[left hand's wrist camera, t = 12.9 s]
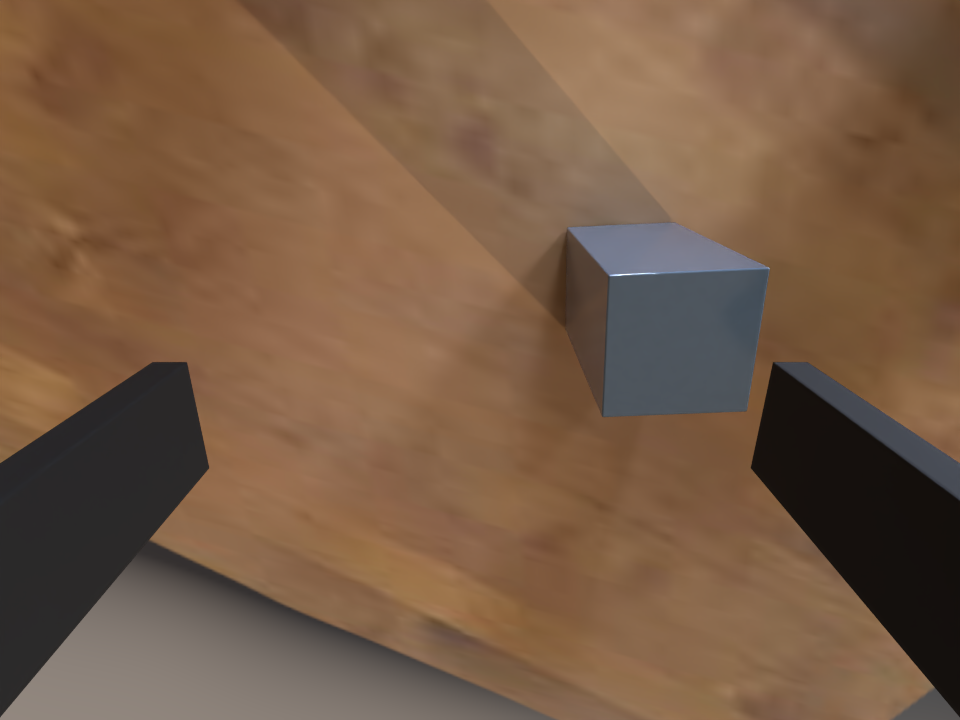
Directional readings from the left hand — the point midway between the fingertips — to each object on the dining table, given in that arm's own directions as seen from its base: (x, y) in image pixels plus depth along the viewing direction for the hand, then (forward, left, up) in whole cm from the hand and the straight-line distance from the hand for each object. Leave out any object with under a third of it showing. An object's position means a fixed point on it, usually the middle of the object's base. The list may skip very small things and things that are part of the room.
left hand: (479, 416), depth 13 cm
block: (-5, +7, -21) cm, 23 cm away
